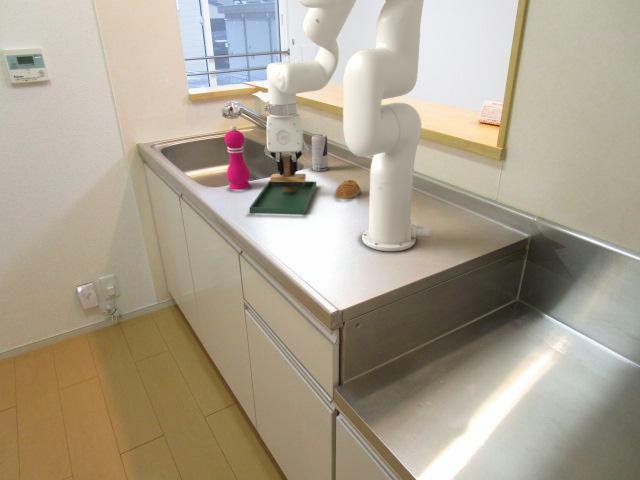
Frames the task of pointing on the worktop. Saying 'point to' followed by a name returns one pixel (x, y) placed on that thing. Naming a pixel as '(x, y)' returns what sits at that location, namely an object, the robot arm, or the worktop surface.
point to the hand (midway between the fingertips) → (287, 173)
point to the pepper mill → (236, 160)
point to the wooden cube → (290, 189)
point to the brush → (287, 175)
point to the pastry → (348, 189)
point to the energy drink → (319, 152)
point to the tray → (283, 200)
